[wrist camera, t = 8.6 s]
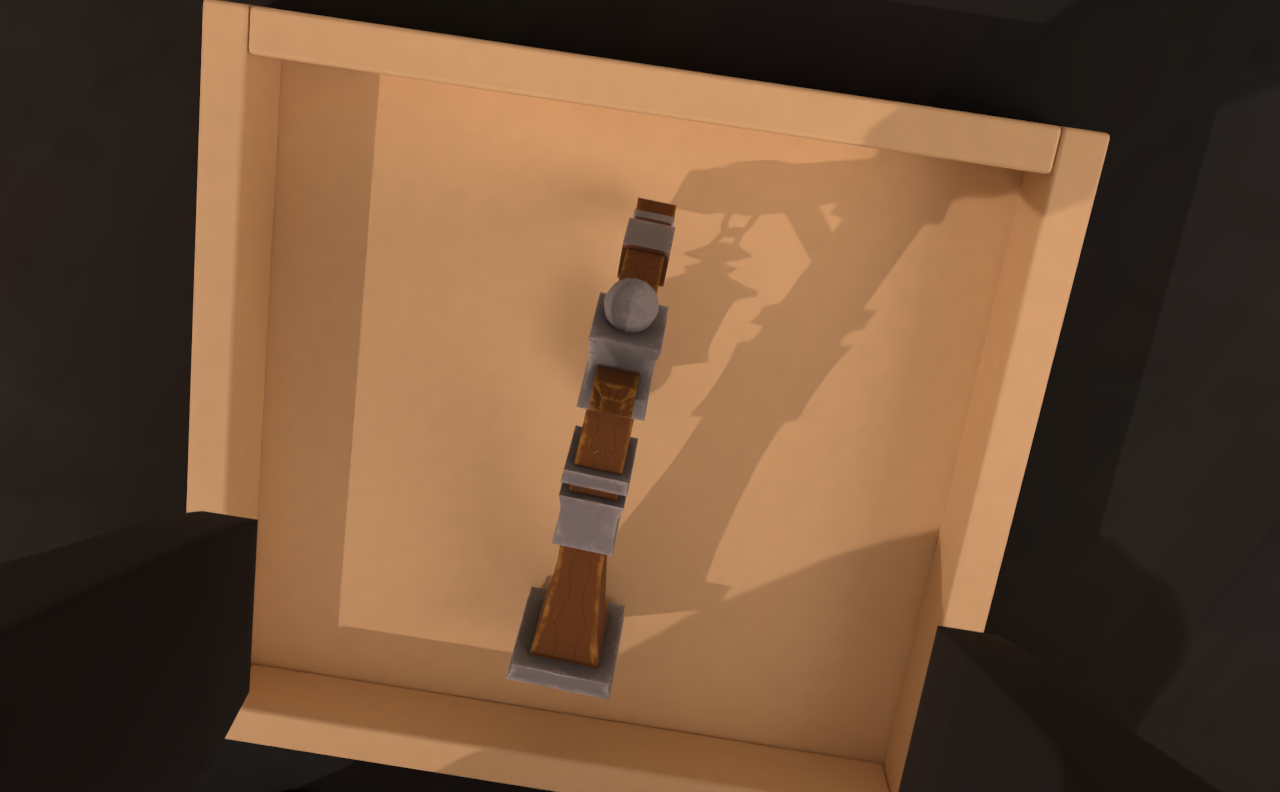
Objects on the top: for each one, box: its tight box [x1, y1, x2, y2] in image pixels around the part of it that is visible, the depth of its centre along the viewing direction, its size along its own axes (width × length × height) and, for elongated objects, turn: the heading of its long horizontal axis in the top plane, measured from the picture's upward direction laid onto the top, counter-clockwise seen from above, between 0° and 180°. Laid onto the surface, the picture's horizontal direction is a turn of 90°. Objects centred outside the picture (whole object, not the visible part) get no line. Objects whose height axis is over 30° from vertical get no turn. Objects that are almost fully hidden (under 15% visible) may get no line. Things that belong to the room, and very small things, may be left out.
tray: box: [186, 0, 1110, 792], centre depth 19 cm, size 13×12×2 cm
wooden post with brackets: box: [506, 197, 677, 700], centre depth 18 cm, size 2×8×4 cm, turn 169°
